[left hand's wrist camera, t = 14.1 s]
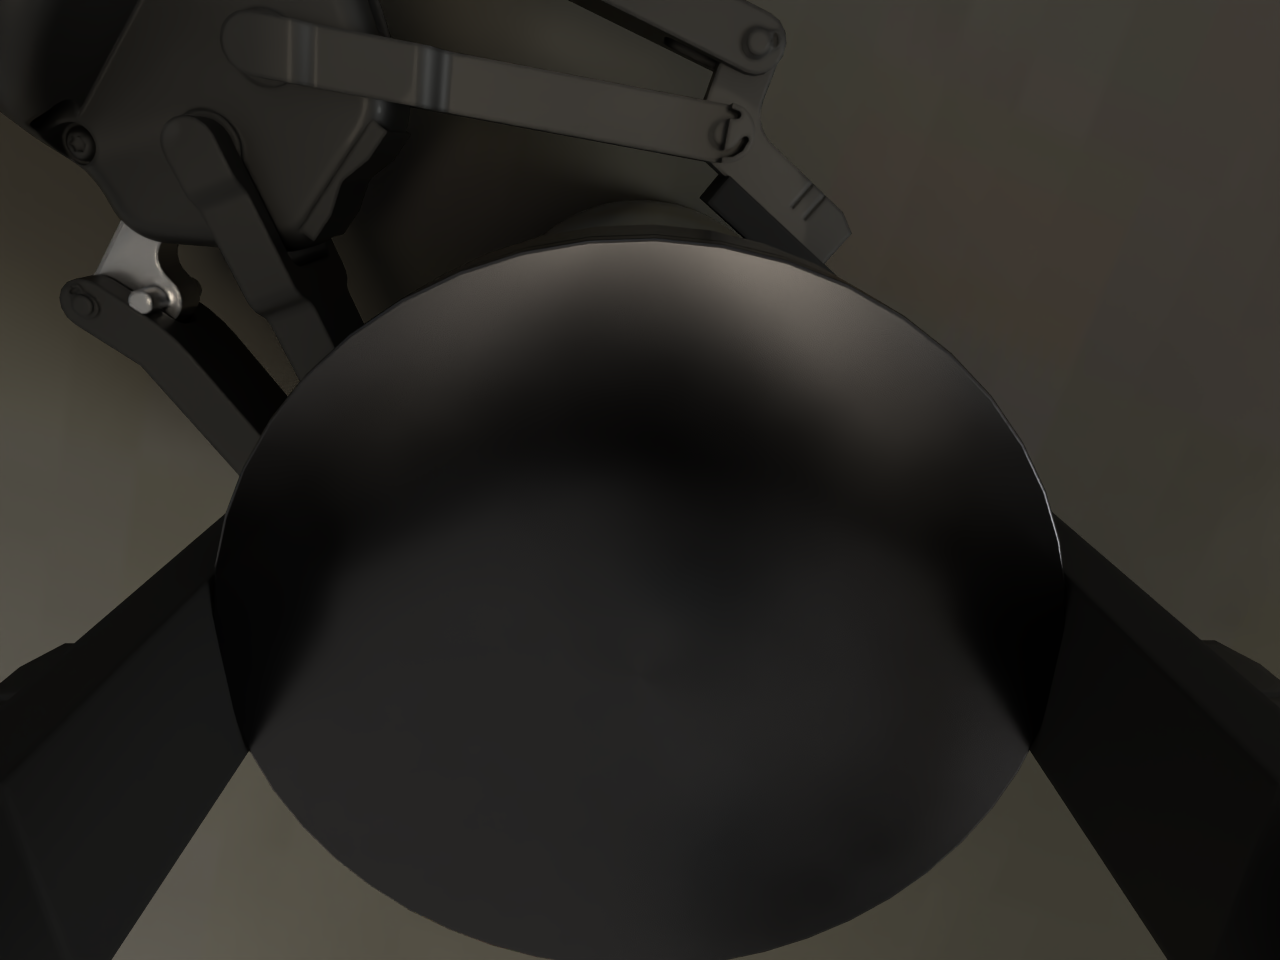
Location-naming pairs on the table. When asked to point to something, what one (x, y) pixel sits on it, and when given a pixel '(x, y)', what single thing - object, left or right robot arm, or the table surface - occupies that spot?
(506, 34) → the table surface
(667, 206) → the screw-top jar
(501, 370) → the lid
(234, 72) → the right robot arm
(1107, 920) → the table surface
